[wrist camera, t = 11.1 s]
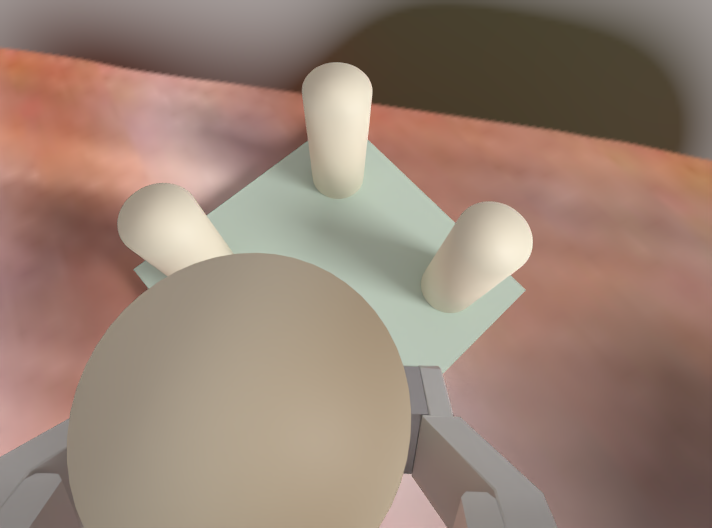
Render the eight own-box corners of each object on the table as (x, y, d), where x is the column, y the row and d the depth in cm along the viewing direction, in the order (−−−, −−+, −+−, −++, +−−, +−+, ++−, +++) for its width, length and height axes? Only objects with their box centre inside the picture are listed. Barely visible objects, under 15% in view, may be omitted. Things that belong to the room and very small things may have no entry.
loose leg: (240, 435, 16) (-9, 517, 5) (286, 338, 17) (179, 210, 6) (337, 480, 16) (329, 689, 4) (377, 377, 17) (454, 322, 5)
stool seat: (148, 279, 32) (44, 212, 21) (342, 133, 37) (342, 14, 26) (318, 492, 28) (303, 553, 17) (512, 298, 33) (603, 242, 22)
